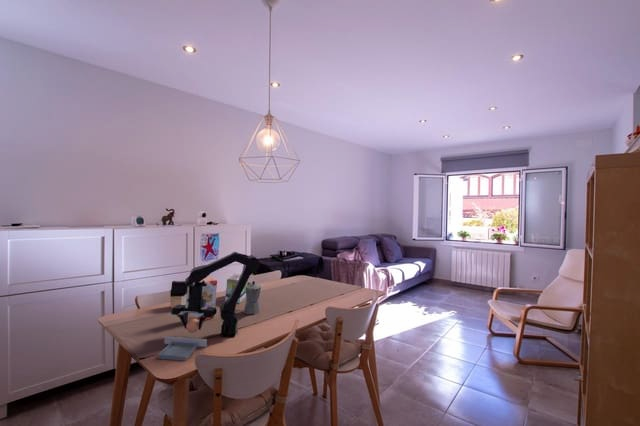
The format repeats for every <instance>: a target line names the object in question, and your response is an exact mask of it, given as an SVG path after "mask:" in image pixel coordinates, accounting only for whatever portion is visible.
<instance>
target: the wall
mask: <svg viewBox="0 0 640 426" xmlns="http://www.w3.org/2000/svg"><path fill="white" fill-rule="evenodd" d="M171 342H182V343H195V344H197V348H198V347H203V348H206V347H207V342H208V339H206V338H192V337H183V336H182V337H181V336H169V335H168V336H166V335H165V336H164V345H169V344H170V343H171Z"/></svg>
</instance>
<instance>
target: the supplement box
mask: <svg viewBox="0 0 640 426" xmlns="http://www.w3.org/2000/svg"><path fill="white" fill-rule="evenodd" d="M176 305H186V294H185V295H184V296H180V297H170V304H169V306H170V307H169V308H171V309H172V308H174V307H175V306H176Z"/></svg>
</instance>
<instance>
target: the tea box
mask: <svg viewBox="0 0 640 426" xmlns="http://www.w3.org/2000/svg"><path fill="white" fill-rule="evenodd" d="M240 275H241V273H240V274H239V273H238V274H237V273H234V274H232V275H231V276H229V277H228V278H227V279H226V286H225V287H226V288H225V297H224V298H225V299H224V300H225V301H227V300H228V299H229V297H230V295H231V293H232V291H233V289H234V287H235V285H236V283H237V281H238V279H239V277H240ZM248 281H249V280H248ZM248 281H247V283H246V285H247V284H248ZM246 285H245V287H246ZM245 287H244V289H243V291H242V293H241V295H240V297H239V299H238V301H237V303H236V304H241V303H242V302H243V300H245V298H246V288H245Z"/></svg>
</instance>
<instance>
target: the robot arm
mask: <svg viewBox="0 0 640 426" xmlns="http://www.w3.org/2000/svg"><path fill="white" fill-rule="evenodd" d="M235 262H236V263H238V264H241V265H243V266H242V271H241V273H240V277H239V279H238V281H237V283H236V285H235V287H234V289H233V291H232V293H231V295H230V297H229V299H228V300H227V301H225V299H223V300H222V303H221V305H220V306H219V314H220V318H221V319H222V324H221V330H220V337H228V338H235V337H236V335H237V334H238V332H239V331H238V322H239V319H238V316H237V314H236V312H235V311H236V307H237V304H238V303H237V301H238V299H239V297H240V295H241V293H242V291H243V289H244V287H245V285H246V283H247V281H249V279H250V278H251V275H252V274H254V273H255V271H256V270H257V268H258V267H259V265H260V261H259V259H258V258H257V257H256V255H254V254H252V255H251V254H250V255H247V254H245V253H240V252H237V251H232V252H231V253H230V254H228V255H226V256H223V257H221V258H219V259H217V260H214V261H212V262H211V263H208V264H204V265H199V266H196V267H193V268H192V269H191V270H190V273H189V276H187V278H186V279H185V280H181V281H179V280H178V281H177V280H172V282H171V289H170V293H169V294H170V296H169V297H170V298H171V297H180V296H184V295H185V294H187V289H188V287H189V297H188V299H187V302H188V308H186V306H185V305H176V306H175V307H174V308H171V312H170V315H174V316H176V317H177V318H179V319H180V322H181V323H182V324H183V326H184V329H185V330H187V329H186V325H187V323H188V313H202V316H201V317H200V318H199V330H198V331H201V330H202V328H203V325H204V322H205V321H206V320H205V319H206V318H207V317H213V316H214V317H215V315H216V314H217V308H216V306H215V307H208V308H206V309H201V308H203V307H204V306H205V305H206V299H203V296H202V289H203V286H207V283H206V282H205V281H204V280H203V279H207V277H209V276H210V274H212V273H214V272H216V271H219V270H220V269H223V268H224V267H226V266H228V265H231V264H233V263H235ZM202 280H203V281H202ZM200 281H202V282H200ZM193 283H194V284H193Z"/></svg>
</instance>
